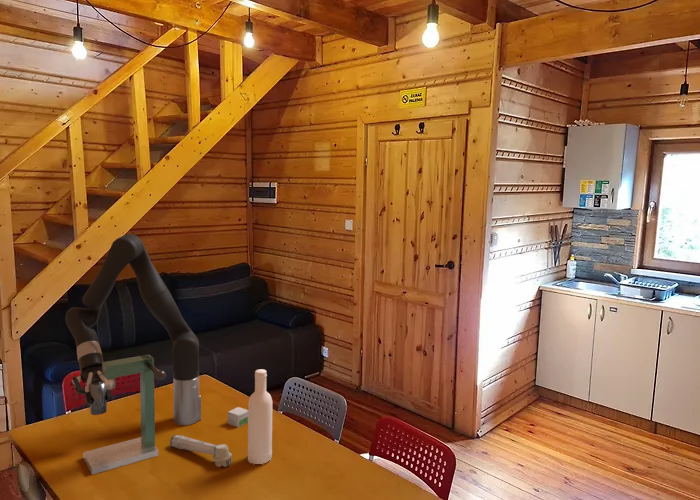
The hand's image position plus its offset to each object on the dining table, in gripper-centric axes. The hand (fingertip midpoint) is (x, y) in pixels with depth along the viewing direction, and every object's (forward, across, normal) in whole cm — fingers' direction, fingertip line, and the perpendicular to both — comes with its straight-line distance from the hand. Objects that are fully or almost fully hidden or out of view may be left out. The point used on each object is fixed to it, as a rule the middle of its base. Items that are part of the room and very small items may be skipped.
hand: (99, 401), depth 171 cm
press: (+22, +4, +1) cm, 22 cm away
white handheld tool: (+29, +25, -5) cm, 39 cm away
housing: (+2, 0, +4) cm, 5 cm away
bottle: (+38, +40, -14) cm, 57 cm away
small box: (+18, +46, +6) cm, 50 cm away
